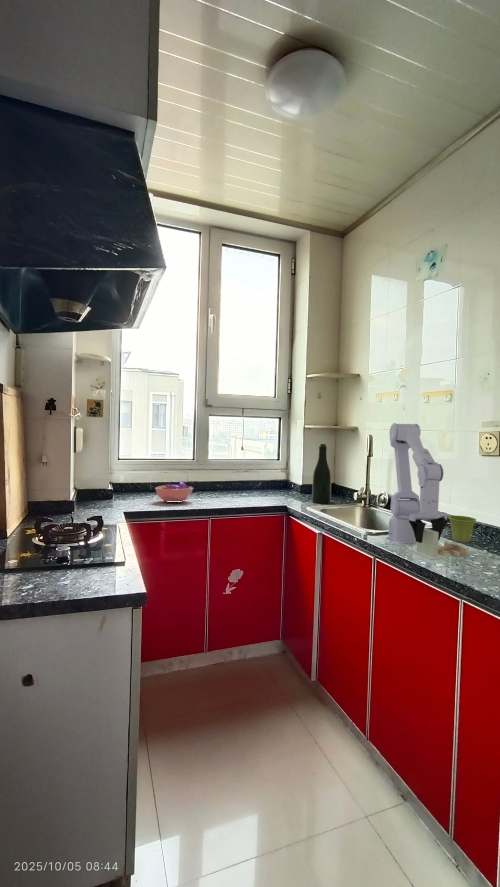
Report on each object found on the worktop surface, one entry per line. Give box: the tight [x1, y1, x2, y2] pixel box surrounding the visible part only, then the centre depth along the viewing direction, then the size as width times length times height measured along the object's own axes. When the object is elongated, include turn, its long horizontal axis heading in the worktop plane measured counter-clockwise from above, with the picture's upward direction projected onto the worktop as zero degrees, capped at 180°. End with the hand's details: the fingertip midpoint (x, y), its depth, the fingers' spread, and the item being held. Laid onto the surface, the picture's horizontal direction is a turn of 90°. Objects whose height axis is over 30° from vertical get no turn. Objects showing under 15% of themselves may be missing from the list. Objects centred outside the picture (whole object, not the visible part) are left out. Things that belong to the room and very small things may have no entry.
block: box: [416, 527, 439, 557], centre depth 141 cm, size 7×2×8 cm, turn 22°
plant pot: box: [448, 515, 477, 543], centre depth 161 cm, size 9×9×9 cm
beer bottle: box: [311, 443, 332, 505], centre depth 238 cm, size 10×10×33 cm
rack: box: [438, 541, 469, 557], centre depth 145 cm, size 9×5×2 cm, turn 22°
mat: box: [408, 549, 447, 561], centre depth 141 cm, size 9×7×1 cm
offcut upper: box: [438, 547, 451, 556], centre depth 143 cm, size 5×3×1 cm, turn 22°
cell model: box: [154, 481, 194, 502], centre depth 227 cm, size 17×20×11 cm
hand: (427, 541), depth 141 cm, fingers open, 7 cm apart
